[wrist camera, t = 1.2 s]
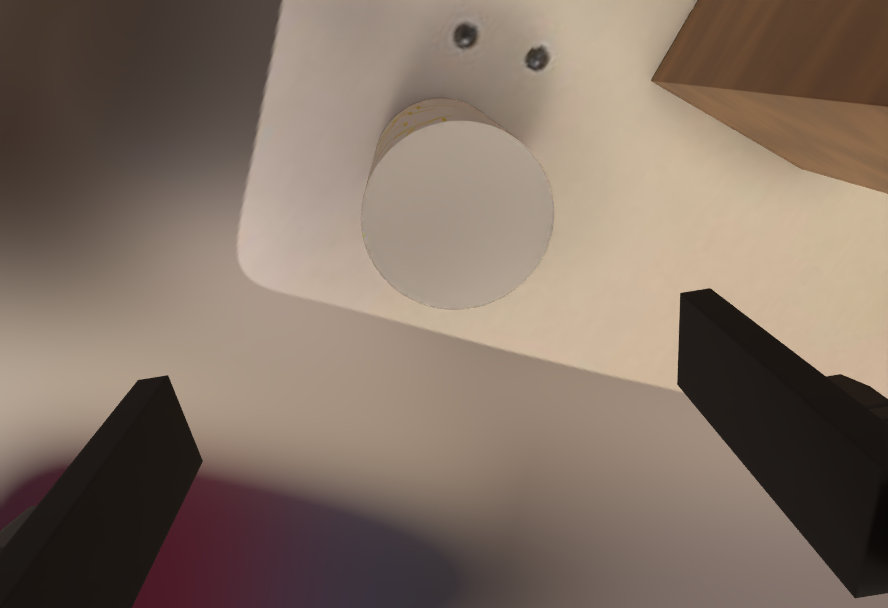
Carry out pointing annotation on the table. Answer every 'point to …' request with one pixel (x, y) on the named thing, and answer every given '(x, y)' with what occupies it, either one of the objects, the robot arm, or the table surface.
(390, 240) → the white patterned cylinder
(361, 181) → the table surface
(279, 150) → the table surface
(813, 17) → the stand
